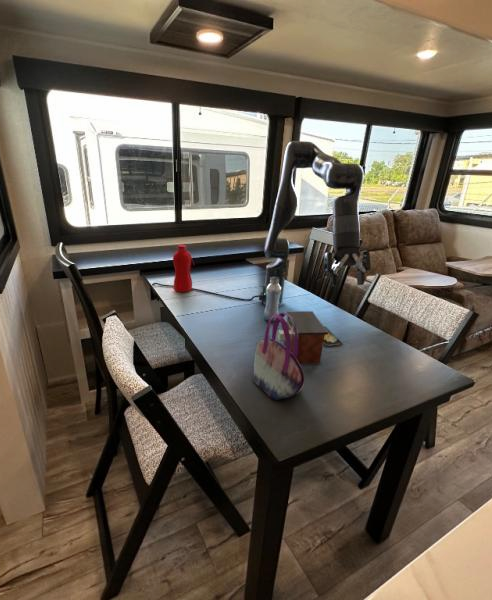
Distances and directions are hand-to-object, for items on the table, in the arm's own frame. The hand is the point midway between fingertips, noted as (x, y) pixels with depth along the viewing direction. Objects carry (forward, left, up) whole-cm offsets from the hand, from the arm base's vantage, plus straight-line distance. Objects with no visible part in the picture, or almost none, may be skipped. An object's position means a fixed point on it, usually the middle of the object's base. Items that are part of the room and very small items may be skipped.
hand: (347, 285), depth 94 cm
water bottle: (-90, +21, -31) cm, 98 cm away
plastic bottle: (-35, +20, -31) cm, 51 cm away
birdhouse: (-13, +4, -31) cm, 34 cm away
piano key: (-18, 0, -26) cm, 31 cm away
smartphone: (-10, +21, -31) cm, 39 cm away
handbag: (-11, -19, -31) cm, 38 cm away
